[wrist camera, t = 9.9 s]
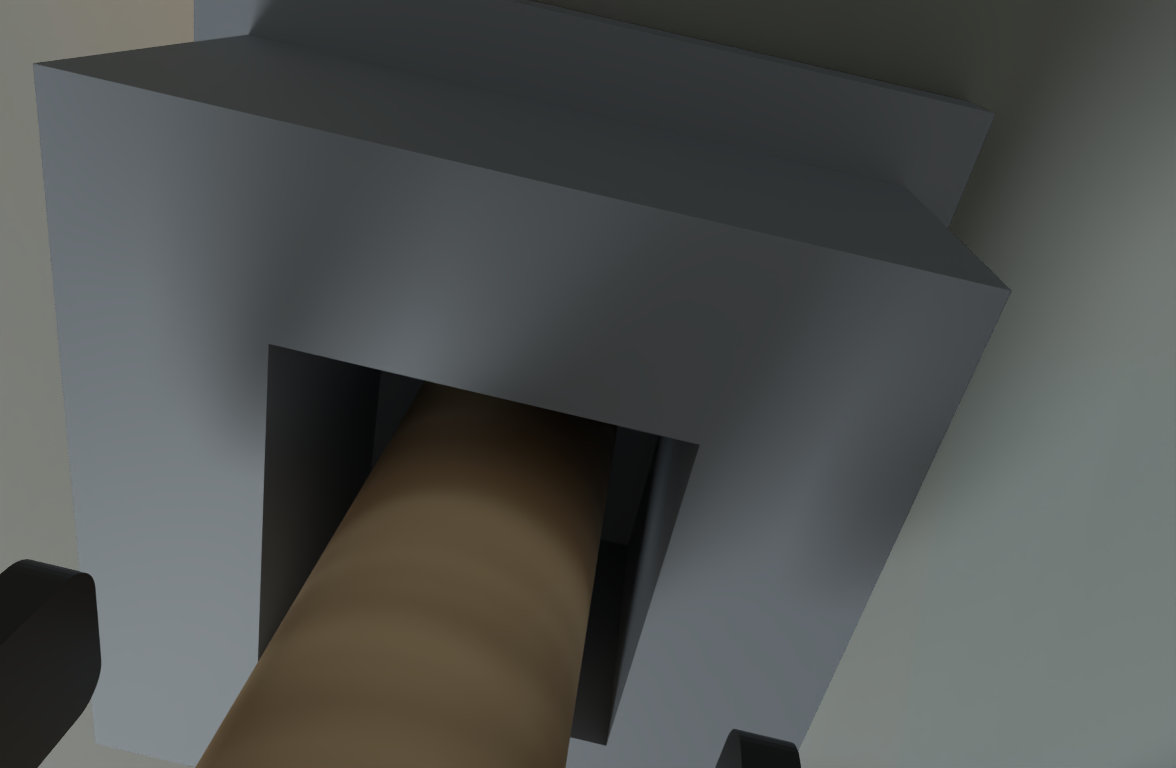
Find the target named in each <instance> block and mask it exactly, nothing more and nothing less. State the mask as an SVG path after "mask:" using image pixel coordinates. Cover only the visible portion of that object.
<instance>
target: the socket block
mask: <svg viewBox="0 0 1176 768" xmlns="http://www.w3.org/2000/svg"><path fill="white" fill-rule="evenodd" d="M33 69H34V80H35V91H36V102H37V112H38V123H39V134H40V145H41V156H42V167H43V178H44V189H45V200H46V211H47V222H48V232H49V243H50V254H51V265H52V276H53V287H54V298H55V309H56V320H57V331H58V341H59V352H60V363H61V374H62V385H63V396H64V407H65V418H66V429H67V440H68V451H69V461H70V472H71V483H72V494H73V505H74V516H75V527H76V538H77V549H78V560H79V570H80V572H84V573H88V574H90V575H91V576H92V578H93V579H94V582H95V587H96V599H97V612H98V624H99V636H100V648H101V672H100V676H99V680H98V683H97V686H96V688H95V691H94V693H93V695H92V697H91V701H92V712H93V723H94V734H95V744H99V745H104V746H108V747H112V748H116V749H120V750H125V751H129V752H133V753H137V754H141V755H146V756H150V757H154V758H158V759H162V760H167V761H171V762H175V763H179V764H183V765H188V766H192V767H196V765H197V764H198V762H199V760H200V759H201V757H202V755H203V754H204V752H205V750H206V749H207V747H208V745H209V744H210V742H211V740H212V738H213V737H214V735H215V733H216V732H217V730H218V728H219V727H220V725H221V723H222V722H223V720H224V718H225V717H226V715H227V713H228V712H229V710H230V708H231V707H232V705H233V703H234V702H235V700H236V698H237V696H238V695H239V693H240V691H241V690H242V688H243V686H244V685H245V683H246V681H247V680H248V678H249V676H250V675H251V673H252V671H253V670H254V668H255V666H256V665H257V663H258V661H259V659H260V658H261V656H262V654H263V653H264V651H265V649H266V648H267V646H268V644H269V643H270V641H271V639H272V638H273V636H274V634H275V633H276V631H277V629H278V628H279V626H280V624H281V622H282V621H283V619H284V617H285V616H286V614H287V612H288V611H289V609H290V607H291V606H292V604H293V602H294V601H295V599H296V597H297V596H298V594H299V592H300V591H301V589H302V587H303V586H304V584H305V582H306V580H307V579H308V577H309V575H310V574H311V572H312V570H313V569H314V567H315V565H316V564H317V562H318V560H319V559H320V557H321V555H322V554H323V552H324V550H325V549H326V547H327V545H328V543H329V542H330V540H331V538H332V537H333V535H334V533H335V532H336V530H337V528H338V527H339V525H340V523H341V522H342V520H343V518H344V517H345V515H346V513H347V512H348V510H349V508H350V506H351V505H352V503H353V501H354V500H355V498H356V496H357V495H358V493H359V491H360V490H361V488H362V486H363V485H364V483H365V481H366V480H367V478H368V476H369V475H370V473H371V471H372V470H373V468H374V466H375V464H376V463H377V461H378V459H379V458H380V456H381V454H382V453H383V451H384V449H385V448H386V446H387V444H388V443H389V441H390V439H391V438H392V436H393V434H394V433H395V431H396V429H397V427H398V426H399V424H400V422H401V421H402V419H403V417H404V416H405V414H406V412H407V411H408V409H409V407H410V406H411V404H412V402H413V401H414V399H415V397H416V396H417V394H418V392H419V391H420V389H421V387H422V385H423V384H424V382H425V381H429V382H434V383H438V384H442V385H447V386H451V387H455V388H459V389H464V390H468V391H472V392H476V393H481V394H485V395H489V396H494V397H498V398H502V399H506V400H511V401H515V402H519V403H523V404H528V405H532V406H536V407H540V408H545V409H549V410H553V411H558V412H562V413H566V414H570V415H575V416H579V417H583V418H587V419H592V420H596V421H600V422H605V423H609V424H613V425H617V426H618V427H617V434H616V440H615V447H614V453H613V460H612V466H611V473H610V479H609V486H608V493H607V499H606V506H605V512H604V519H603V525H602V532H601V538H600V545H599V552H598V558H597V565H596V571H595V578H594V584H593V591H592V597H591V604H590V611H589V617H588V624H587V630H586V637H585V643H584V650H583V657H582V663H581V670H580V676H579V683H578V689H577V696H576V702H575V709H574V716H573V722H572V729H571V735H570V742H569V748H568V755H567V761H566V768H715V767H716V764H717V762H718V759H719V757H720V754H721V752H722V749H723V747H724V744H725V742H726V739H727V737H728V735H729V733H730V732H731V731H732V729H738V730H742V731H746V732H751V733H755V734H759V735H763V736H768V737H772V738H776V739H780V740H784V741H789V742H792V743H794V744H795V745H796V747H797V750H799V748H800V746H801V744H802V742H803V740H804V737H805V735H806V733H807V731H808V729H809V727H810V724H811V722H812V720H813V718H814V716H815V714H816V712H817V709H818V707H819V705H820V703H821V701H822V699H823V696H824V694H825V692H826V690H827V688H828V686H829V683H830V681H831V679H832V677H833V675H834V673H835V671H836V668H837V666H838V664H839V662H840V660H841V658H842V655H843V653H844V651H845V649H846V647H847V645H848V642H849V640H850V638H851V636H852V634H853V632H854V630H855V627H856V625H857V623H858V621H859V619H860V617H861V614H862V612H863V610H864V608H865V606H866V604H867V601H868V599H869V597H870V595H871V593H872V591H873V589H874V586H875V584H876V582H877V580H878V578H879V576H880V573H881V571H882V569H883V567H884V565H885V563H886V560H887V558H888V556H889V554H890V552H891V550H892V547H893V545H894V543H895V541H896V539H897V537H898V535H899V532H900V530H901V528H902V526H903V524H904V522H905V519H906V517H907V515H908V513H909V511H910V509H911V506H912V504H913V502H914V500H915V498H916V496H917V494H918V491H919V489H920V487H921V485H922V483H923V481H924V478H925V476H926V474H927V472H928V470H929V468H930V465H931V463H932V461H933V459H934V457H935V455H936V453H937V450H938V448H939V446H940V444H941V442H942V440H943V437H944V435H945V433H946V431H947V429H948V427H949V424H950V422H951V420H952V418H953V416H954V414H955V412H956V409H957V407H958V405H959V403H960V401H961V399H962V396H963V394H964V392H965V390H966V388H967V386H968V383H969V381H970V379H971V377H972V375H973V373H974V371H975V368H976V366H977V364H978V362H979V360H980V358H981V355H982V353H983V351H984V349H985V347H986V345H987V342H988V340H989V338H990V336H991V334H992V332H993V329H994V327H995V325H996V323H997V321H998V319H999V317H1000V314H1001V312H1002V310H1003V308H1004V306H1005V304H1006V301H1007V299H1008V297H1009V295H1010V293H1011V290H1010V289H1009V288H1008V287H1007V286H1006V285H1005V284H1004V283H1003V282H1002V281H1001V280H1000V279H999V278H998V277H997V276H996V275H995V274H994V273H993V272H992V271H991V270H990V269H989V268H988V267H987V266H986V265H985V264H984V263H983V262H982V261H981V260H980V259H979V258H978V257H977V256H975V255H974V254H973V253H972V252H971V251H970V250H969V249H968V248H967V247H966V246H965V245H964V244H963V243H962V242H961V241H960V240H959V239H958V238H957V237H956V236H955V235H954V234H953V233H952V232H951V231H950V230H949V229H948V228H949V226H950V223H951V221H952V218H953V216H954V213H955V211H956V209H957V206H958V204H959V201H960V199H961V196H962V194H963V192H964V189H965V187H966V184H967V182H968V179H969V177H970V175H971V172H972V170H973V167H974V165H975V162H976V160H977V158H978V155H979V153H980V150H981V148H982V145H983V143H984V141H985V138H986V136H987V133H988V131H989V128H990V126H991V124H992V121H993V119H994V116H995V114H996V113H994V112H991V111H989V110H987V109H985V108H982V107H980V106H978V105H976V104H974V103H971V102H969V101H965V100H960V99H956V98H952V97H947V96H943V95H939V94H934V93H930V92H926V91H921V90H917V89H913V88H908V87H904V86H900V85H895V84H891V83H887V82H882V81H878V80H874V79H869V78H865V77H861V76H856V75H852V74H848V73H843V72H839V71H835V70H830V69H826V68H822V67H817V66H813V65H809V64H804V63H800V62H796V61H791V60H787V59H783V58H778V57H774V56H770V55H765V54H761V53H757V52H752V51H748V50H744V49H739V48H735V47H731V46H726V45H722V44H718V43H713V42H709V41H705V40H700V39H696V38H692V37H687V36H683V35H679V34H674V33H670V32H666V31H661V30H657V29H653V28H648V27H644V26H640V25H635V24H631V23H627V22H622V21H618V20H614V19H609V18H605V17H601V16H596V15H592V14H588V13H583V12H579V11H575V10H570V9H566V8H562V7H557V6H553V5H549V4H544V3H540V2H536V1H532V0H194V42H189V43H181V44H174V45H166V46H159V47H151V48H144V49H137V50H129V51H122V52H114V53H107V54H99V55H92V56H85V57H77V58H70V59H62V60H55V61H47V62H40V63H33Z"/></svg>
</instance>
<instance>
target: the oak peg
mask: <svg viewBox="0 0 1176 768" xmlns="http://www.w3.org/2000/svg"><path fill="white" fill-rule="evenodd" d="M617 427H618V426H617V425H613V424H609V423H605V422H600V421H596V420H592V419H587V418H583V417H579V416H575V415H570V414H566V413H562V412H558V411H553V410H549V409H545V408H540V407H536V406H532V405H528V404H523V403H519V402H515V401H511V400H506V399H502V398H498V397H494V396H489V395H485V394H481V393H476V392H472V391H468V390H464V389H459V388H455V387H451V386H447V385H442V384H438V383H434V382H429V381H425V382H424V384H423V385H422V387H421V389H420V391H419V392H418V394H417V396H416V397H415V399H414V401H413V402H412V404H411V406H410V407H409V409H408V411H407V412H406V414H405V416H404V417H403V419H402V421H401V422H400V424H399V426H398V427H397V429H396V431H395V433H394V434H393V436H392V438H391V439H390V441H389V443H388V444H387V446H386V448H385V449H384V451H383V453H382V454H381V456H380V458H379V459H378V461H377V463H376V464H375V466H374V468H373V470H372V471H371V473H370V475H369V476H368V478H367V480H366V481H365V483H364V485H363V486H362V488H361V490H360V491H359V493H358V495H357V496H356V498H355V500H354V501H353V503H352V505H351V506H350V508H349V510H348V512H347V513H346V515H345V517H344V518H343V520H342V522H341V523H340V525H339V527H338V528H337V530H336V532H335V533H334V535H333V537H332V538H331V540H330V542H329V543H328V545H327V547H326V549H325V550H324V552H323V554H322V555H321V557H320V559H319V560H318V562H317V564H316V565H315V567H314V569H313V570H312V572H311V574H310V575H309V577H308V579H307V580H306V582H305V584H304V586H303V587H302V589H301V591H300V592H299V594H298V596H297V597H296V599H295V601H294V602H293V604H292V606H291V607H290V609H289V611H288V612H287V614H286V616H285V617H284V619H283V621H282V622H281V624H280V626H279V628H278V629H277V631H276V633H275V634H274V636H273V638H272V639H271V641H270V643H269V644H268V646H267V648H266V649H265V651H264V653H263V654H262V656H261V658H260V659H259V661H258V663H257V665H256V666H255V668H254V670H253V671H252V673H251V675H250V676H249V678H248V680H247V681H246V683H245V685H244V686H243V688H242V690H241V691H240V693H239V695H238V696H237V698H236V700H235V702H234V703H233V705H232V707H231V708H230V710H229V712H228V713H227V715H226V717H225V718H224V720H223V722H222V723H221V725H220V727H219V728H218V730H217V732H216V733H215V735H214V737H213V738H212V740H211V742H210V744H209V745H208V747H207V749H206V750H205V752H204V754H203V755H202V757H201V759H200V760H199V762H198V764H197V765H196V767H195V768H566V761H567V755H568V748H569V742H570V735H571V729H572V722H573V716H574V709H575V702H576V696H577V689H578V683H579V676H580V670H581V663H582V657H583V650H584V643H585V637H586V630H587V624H588V617H589V611H590V604H591V597H592V591H593V584H594V578H595V571H596V565H597V558H598V552H599V545H600V538H601V532H602V525H603V519H604V512H605V506H606V499H607V493H608V486H609V479H610V473H611V466H612V460H613V453H614V447H615V440H616V434H617Z"/></svg>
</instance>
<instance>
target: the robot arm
mask: <svg viewBox="0 0 1176 768" xmlns="http://www.w3.org/2000/svg"><path fill="white" fill-rule="evenodd" d="M100 672H101V648H100V636H99V624H98V612H97V599H96V587H95V582H94V579H93V578H92V576H91V575H90V574H88V573H84V572H80V571H76V570H72V569H67V568H63V567H59V566H55V565H51V564H46V563H42V562H38V561H34V560H29V559H25V560H21V561H18V562H16V563H14V564H12V565H11V566H10V567H8V568H7V569H6V570H5V571H4V572H2V573H1V574H0V768H38V766H39V765H40V764H41V763H42V761H43V760H44V759H45V758H46V757H47V755H48V754H49V753H50V752H51V751H52V749H53V748H54V747H55V746H56V744H57V743H58V742H59V741H60V740H61V738H62V737H63V736H64V735H65V734H66V732H67V731H68V730H69V729H70V727H71V726H72V725H73V724H74V723H75V721H76V720H77V719H78V718H79V716H80V715H81V714H82V712H83V711H84V710H85V708H86V706H87V705H88V703H89V701H90V699H91V697H92V695H93V693H94V691H95V688H96V686H97V683H98V680H99V676H100ZM715 768H801V765H800V758H799V753H798V750H797V747H796V745H795V744H794V743H792V742H789V741H784V740H780V739H776V738H772V737H768V736H763V735H759V734H755V733H751V732H746V731H742V730H738V729H732V731H731V732H730V733H729V735H728V737H727V739H726V742H725V744H724V747H723V749H722V752H721V754H720V757H719V759H718V762H717V764H716V767H715Z"/></svg>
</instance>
